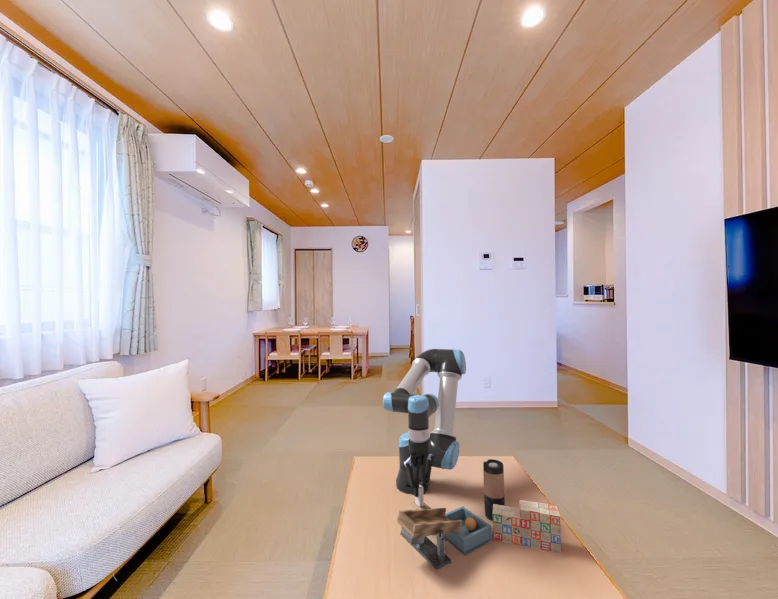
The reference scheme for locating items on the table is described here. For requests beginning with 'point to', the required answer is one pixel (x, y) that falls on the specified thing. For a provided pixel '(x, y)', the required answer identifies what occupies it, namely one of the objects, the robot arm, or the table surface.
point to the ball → (470, 524)
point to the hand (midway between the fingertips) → (419, 504)
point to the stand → (434, 551)
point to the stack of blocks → (528, 525)
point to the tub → (468, 532)
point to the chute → (425, 523)
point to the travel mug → (493, 486)
